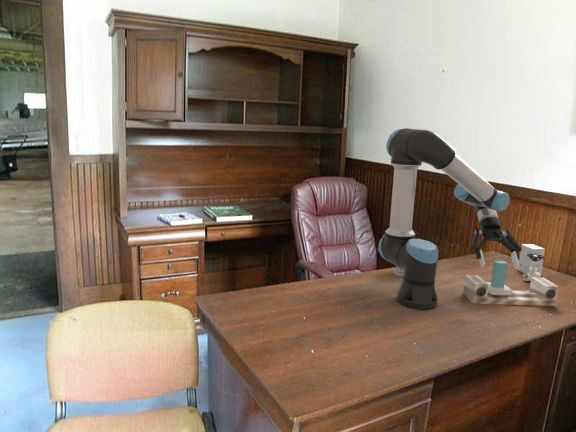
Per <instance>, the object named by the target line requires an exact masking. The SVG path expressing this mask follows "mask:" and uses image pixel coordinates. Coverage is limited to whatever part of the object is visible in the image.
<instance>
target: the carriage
mask: <svg viewBox="0 0 576 432" xmlns="http://www.w3.org/2000/svg"><path fill="white" fill-rule="evenodd" d="M508 265H509V264H508V262H507V261H505V260H493V265H492V270H491V277H490V278H491V280H490V282H488V281H486V282H487V283H488V284H489V286H488V295H506V296H509V295H512V291H513V289H511V287H508V286H507V285H506V279H507V277H506V276H507V271H508V267H509V266H508Z"/></svg>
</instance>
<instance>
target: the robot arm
mask: <svg viewBox="0 0 576 432" xmlns="http://www.w3.org/2000/svg"><path fill="white" fill-rule="evenodd" d="M385 146H386V147H385V148H386V153H388V155H389V156H390V157H391V158H390V164H391V165H392V167H393V181H392V183H393V184H392V193H391V206H390V217H389V226H388V228H387V229H386V230H385V233H384V234H383V235H382V237H381V238H380V239H379V242H378V251H379V254H380V257H382V258H383V259H384V260H385V261H386V262H387V263H390V264H393V265H394V266H396V267H397V266H398V268H399V267H400V268H402V269H404V275H403V277H402V282H401V284H400V286H399V288H398V290H397V292H396V299H395V300H396V301H397V302H398V303H399V304H400V305H402V306H404V307H406V308H407V307H408V308H411V309H416V310H432V309H435V308H436V307H438V300H439V299H438V294H437V290H436V285H435V283H436V277H437V270H438V269H437V267H438V260H439V248H438V246H437V245H436V244H435V243H433V242H432V241H429V240H424V239H421V238H416V233H415V231H414V230H413V229H412V228H413V220H414V219H413V218H414V217H413V216H414V205H415V195H416V187H417V185H416V184H417V174H418V169H419V168H420V167H421V166H422V165H423V163H424V164H427V165H430V166H431V167H433V168H434V169H435V170H439V171H440V170H441V172H443V173H444V174H446V175H447V176H448V177H449V178H450V179H452V180H453V181H455V183H457V184H456V186H455V188H454V191H453V194H454V197H455V198H456V199H458V201H460V202H464V203H466V204H468V205H470V206H472V207H474V208H475V210H476V213H477V218H478V221H479V227H480V228H475V230H474V232H473V235H474V236H473V239H472V242H471V244H470V247H469V251H471V252H473V253H474V254H475V256H476V259H477V260H478V262H479V266H480V268H483V267H485V266H486V262H485V259H484V254H483V253H484V252H483V249H481V248H482V247H483V245H484V244H485V243H486V241H488V242H494V243H495V242H498V243H499V244H501V245H502V246H503V247H505V248H506V249H507V250H508V251H509V252H510V257H511V261H512V264H513V268H514V270H516V269H517V270H518V267H519V266H520V265H519V260H520V255H519V253H521V250H522V248H521V247H522V246H520V244H519V243H518V242H517V241H516V240H515V238H514V237H513V236H512V234H511V232H510V230H509V229H506V230H505V231H502V229H501V224H500V220H499V215H498V212H497V211H499V212H502V211H505V210H506V209H507V208H508V206H509V205H510V201H511V198H510V195H509V194H508V193H507V192H504V191H502V190H498V189H496V188H495V187H494V186H493V185H492V184H490V182H489V181H487V180H486V179H485V178H484V177H482V175H481V174H479V173H478V172H477V171H476V170H475V169H474V168H473V167H471V166H470V165H469V164H468V163H467V162H465V160H463V158H461V157H460V156H459V155H458V154H457V151H456V148H454V147H453V146H452V145H451V144H450V143H448V142H447V141H446V140H445V139H444V138H442V137H441V136H440V135H438V134H436V132H434V131H430V130H427V129H418V128H407V127H406V128H398V129H396V130H394V131H393V132H392V133H390V135H389V137H388V138H387V140H386V144H385ZM480 235H481V236H483V239H481V241H480V242H479V243H478V245H477V242H478V240H479V237H480ZM476 245H477V247H476Z"/></svg>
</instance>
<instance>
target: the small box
mask: <svg viewBox="0 0 576 432" xmlns="http://www.w3.org/2000/svg"><path fill="white" fill-rule="evenodd" d="M520 247H521V248H522V250H521V251H520V252H519V253H520V255H519V260H518V262H519V265H520V266H519V267H518V268H517V271H519V272H521V273H523V274H524V273H529V272H530V271H529V268H531V267H532V263H533V261H532V260H531V258H529V256H527V254H529V253H532V254H534V253H535V254H537V255H542V256H544V257H545V253H546V248H543V247H541V246H538V245H536V244H533V243H532V244H531V243H528V244H527V243H522V244H521V246H520ZM538 259H539V258H538ZM544 260H545V258H544V259H542V260H539V261H536V266H535V267H536V269H537V272H539V273H540V275H541V276H542V271H543V267H544V266H543V265H544Z"/></svg>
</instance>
